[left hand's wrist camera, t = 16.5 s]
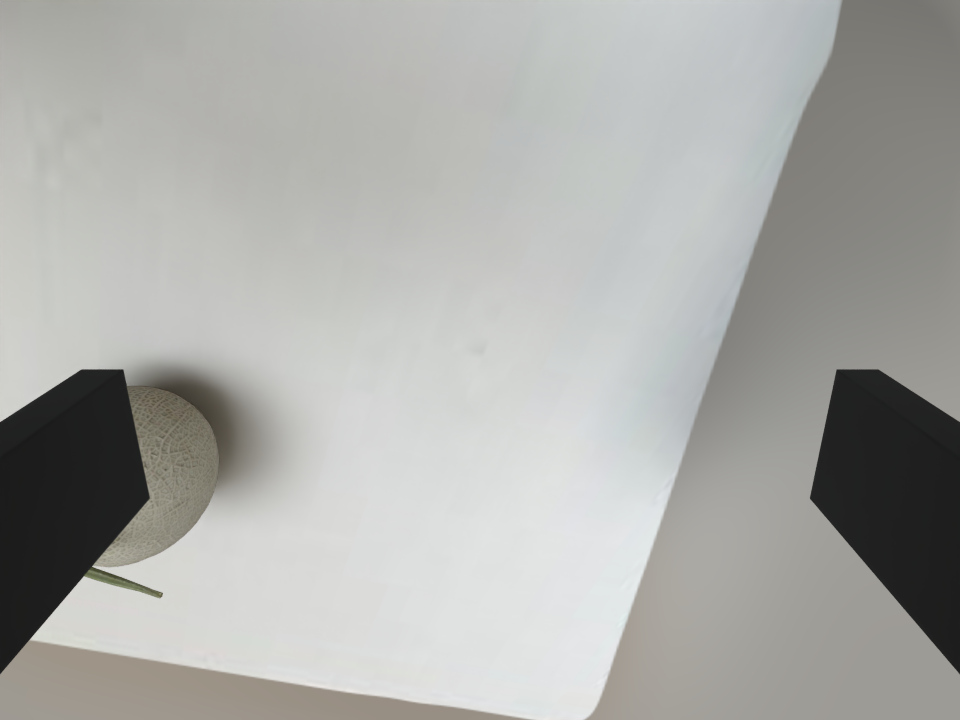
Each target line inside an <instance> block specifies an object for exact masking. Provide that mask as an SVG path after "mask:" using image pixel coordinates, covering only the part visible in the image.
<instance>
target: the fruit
mask: <svg viewBox="0 0 960 720" xmlns="http://www.w3.org/2000/svg"><path fill="white" fill-rule="evenodd" d="M127 390H128V395H129V399H130V404H131V409H132V414H133V419H134V423H135V428H136V433H137V438H138V443H139V448H140V452H141V457H142V462H143V467H144V472H145V476H146V481H147V486H148V491H149V496H150V499H149V500H148V501H147V503H146V504H145V505H144V506H143V507H142V508H141V510H140V511H139V512H138V513H137V514H136V516H135V517H134V518H133V519H132V520H131V521H130V523H129V524H128V525H127V526H126V527H125V528H124V530H123V531H122V532H121V533H120V534H119V535H118V537H117V538H116V539H115V540H114V541H113V542H112V544H111V545H110V546H109V547H108V548H107V549H106V551H105V552H104V553H103V554H102V555H101V557H100V558H99V559H98V560H97V561H96V562H95V564H94V566H101V567H116V566H124V565H129V564H133V563H136V562H139V561H142V560H144V559H146V558H149V557H151V556H154V555H156V554H158V553H160V552H162V551H164V550H166V549H167V548H169V547H170V546H172V545H173V544H175V543H176V542H177V541H178V540H180V539H181V538H182V537H183V536H184V535H185V534H186V533H187V532H188V531H190V530H191V528H192V527H193V526H194V525H195V524H196V523H197V521H198V520H199V518H200V517H201V515H202V514H203V512H204V511H205V510H206V508H207V506H208V504H209V502H210V500H211V497H212V495H213V493H214V489H215V485H216V482H217V477H218V469H219V453H218V447H217V442H216V439H215V436H214V433H213V431H212V428H211V426H210V425H209V423H208V422H207V420H206V419H205V418H204V416H203V415H202V414H201V413H200V412H199V411H198V410H197V409H196V408H195V407H194V406H193V405H192V404H190V403H189V402H187V401H186V400H184V399H183V398H181V397H180V396H178V395H176V394H174V393H171V392H168V391H165V390H162V389H158V388H152V387H146V386H127ZM84 576H85V577H88V578H91V579H94V580H97V581H101V582H104V583H108V584H111V585H115V586H119V587H123V588H127V589H131V590H135V591H140V592H143V593H146V594H148V595H151V596H154V597H157V598H161V597H162V595H163V593H161V592H158V591H155V590H152V589H150V588H148V587H145V586H142V585H140V584H137V583H135V582H132V581H129V580H127V579H124V578H122V577H119V576H116V575H113V574H110V573H107V572H105V571H102V570H99V569H96V568H94V567H91V568H90V569H89V571H88V572H87V573H86V574H85V575H84Z"/></svg>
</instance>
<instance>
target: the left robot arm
mask: <svg viewBox="0 0 960 720" xmlns="http://www.w3.org/2000/svg"><path fill="white" fill-rule="evenodd" d="M149 499H150V496H149V491H148V486H147V481H146V476H145V472H144V467H143V462H142V457H141V452H140V448H139V443H138V438H137V433H136V428H135V423H134V419H133V414H132V409H131V404H130V399H129V395H128V390H127V385H126V380H125V375H124V371H123V370H80V371H79V372H77V373H76V374H74V375H72V376H71V377H69V378H68V379H66V380H65V381H63V382H62V383H60V384H59V385H57V386H55V387H54V388H52V389H51V390H49V391H48V392H46V393H45V394H43V395H42V396H40V397H38V398H37V399H35V400H34V401H32V402H31V403H29V404H28V405H26V406H25V407H23V408H21V409H20V410H18V411H17V412H15V413H14V414H12V415H11V416H9V417H8V418H6V419H4V420H3V421H1V422H0V674H1V673H2V671H3V670H4V669H5V668H6V667H7V665H8V664H9V663H10V662H11V661H12V660H13V658H14V657H15V656H16V655H17V654H18V652H19V651H20V650H21V649H22V648H23V647H24V646H25V644H26V643H27V642H28V641H29V640H30V639H31V637H32V636H33V635H34V634H35V633H36V632H37V630H38V629H39V628H40V627H41V626H42V624H43V623H44V622H45V621H46V620H47V619H48V617H49V616H50V615H51V614H52V613H53V612H54V610H55V609H56V608H57V607H58V606H59V605H60V603H61V602H62V601H63V600H64V599H65V598H66V596H67V595H68V594H69V593H70V592H71V590H72V589H73V588H74V587H75V586H76V585H77V583H78V582H79V581H80V580H81V579H82V578H83V576H84V575H85V574H86V573H87V572H88V571H89V569H90V568H91V567H92V566H93V565H94V564H95V562H96V561H97V560H98V559H99V558H100V557H101V555H102V554H103V553H104V552H105V551H106V549H107V548H108V547H109V546H110V545H111V544H112V542H113V541H114V540H115V539H116V538H117V537H118V535H119V534H120V533H121V532H122V531H123V530H124V528H125V527H126V526H127V525H128V524H129V523H130V521H131V520H132V519H133V518H134V517H135V516H136V514H137V513H138V512H139V511H140V510H141V508H142V507H143V506H144V505H145V504H146V503H147V501H148V500H149ZM810 499H811V500H812V501H813V503H814V504H815V505H816V506H817V507H818V508H819V510H820V511H821V512H822V513H823V514H824V516H825V517H826V518H827V519H828V520H829V521H830V523H831V524H832V525H833V526H834V527H835V528H836V530H837V531H838V532H839V533H840V534H841V535H842V536H843V538H844V539H845V540H846V541H847V542H848V544H849V545H850V546H851V547H852V548H853V549H854V551H855V552H856V553H857V554H858V555H859V557H860V558H861V559H862V560H863V561H864V562H865V564H866V565H867V566H868V567H869V568H870V569H871V570H872V572H873V573H874V574H875V575H876V576H877V578H878V579H879V580H880V581H881V582H882V583H883V585H884V586H885V587H886V588H887V589H888V590H889V592H890V593H891V594H892V595H893V596H894V598H895V599H896V600H897V601H898V602H899V603H900V605H901V606H902V607H903V608H904V609H905V610H906V612H907V613H908V614H909V615H910V616H911V617H912V619H913V620H914V621H915V622H916V623H917V624H918V626H919V627H920V628H921V629H922V630H923V631H924V633H925V634H926V635H927V636H928V637H929V639H930V640H931V641H932V642H933V643H934V644H935V646H936V647H937V648H938V649H939V650H940V651H941V653H942V654H943V655H944V656H945V657H946V658H947V660H948V661H949V662H950V663H951V664H952V665H953V667H954V668H955V669H956V670H957V671H958V672H959V674H960V422H959V421H957V420H956V419H954V418H952V417H951V416H949V415H948V414H946V413H945V412H943V411H942V410H940V409H939V408H937V407H935V406H934V405H932V404H931V403H929V402H928V401H926V400H925V399H923V398H922V397H920V396H918V395H917V394H915V393H914V392H912V391H911V390H909V389H908V388H906V387H904V386H903V385H901V384H900V383H898V382H897V381H895V380H894V379H892V378H891V377H889V376H888V375H886V374H884V373H883V372H881V371H880V370H837V371H836V375H835V380H834V385H833V390H832V395H831V400H830V404H829V409H828V414H827V419H826V424H825V428H824V433H823V438H822V443H821V448H820V452H819V457H818V462H817V467H816V472H815V476H814V481H813V486H812V491H811V496H810Z"/></svg>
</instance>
